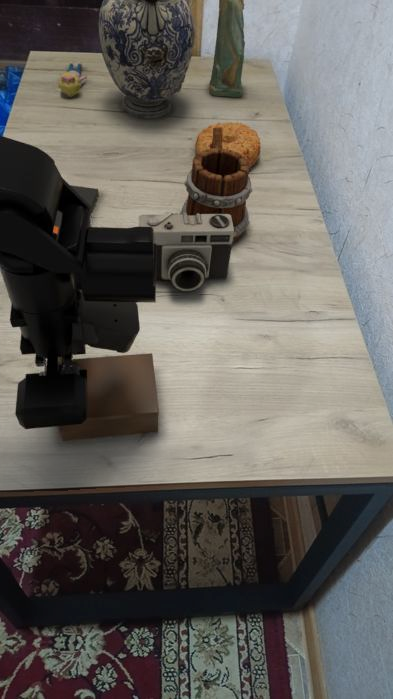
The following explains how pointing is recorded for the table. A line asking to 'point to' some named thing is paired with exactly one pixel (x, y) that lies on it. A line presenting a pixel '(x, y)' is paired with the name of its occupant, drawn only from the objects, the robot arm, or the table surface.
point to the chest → (110, 428)
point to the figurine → (71, 80)
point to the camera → (191, 247)
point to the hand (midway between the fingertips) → (66, 385)
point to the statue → (228, 50)
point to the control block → (87, 194)
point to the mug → (219, 184)
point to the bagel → (232, 140)
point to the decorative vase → (147, 51)
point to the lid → (120, 386)
